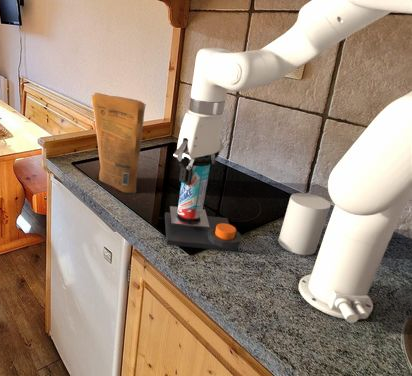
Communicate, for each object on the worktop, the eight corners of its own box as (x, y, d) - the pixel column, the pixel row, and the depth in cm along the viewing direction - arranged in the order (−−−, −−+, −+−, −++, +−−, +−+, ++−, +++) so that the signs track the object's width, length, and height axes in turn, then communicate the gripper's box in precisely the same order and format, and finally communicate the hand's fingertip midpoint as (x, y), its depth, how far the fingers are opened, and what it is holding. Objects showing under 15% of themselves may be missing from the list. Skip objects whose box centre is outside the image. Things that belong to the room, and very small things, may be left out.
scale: (241, 255, 93) (244, 244, 91) (166, 247, 95) (168, 236, 94) (230, 223, 106) (232, 212, 105) (164, 216, 108) (165, 206, 107)
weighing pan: (209, 228, 98) (209, 226, 97) (171, 224, 99) (171, 222, 99) (204, 210, 106) (205, 209, 105) (169, 207, 107) (169, 206, 107)
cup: (307, 237, 100) (320, 194, 95) (321, 256, 93) (337, 210, 88) (273, 235, 101) (285, 191, 96) (285, 253, 94) (298, 207, 89)
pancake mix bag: (129, 199, 117) (137, 103, 106) (86, 177, 131) (89, 90, 119) (144, 193, 121) (154, 100, 110) (101, 172, 135) (106, 88, 123)
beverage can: (175, 209, 105) (183, 155, 99) (198, 211, 104) (208, 156, 98) (178, 220, 100) (186, 164, 93) (203, 222, 99) (213, 165, 93)
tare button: (236, 241, 93) (237, 233, 92) (216, 239, 94) (217, 231, 93) (232, 231, 97) (234, 224, 96) (213, 229, 98) (215, 222, 97)
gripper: (220, 99, 97) (208, 168, 105) (165, 107, 89) (157, 181, 97) (246, 106, 91) (231, 179, 99) (190, 115, 83) (179, 193, 91)
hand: (194, 179), depth 98 cm, fingers closed on beverage can, 5 cm apart
